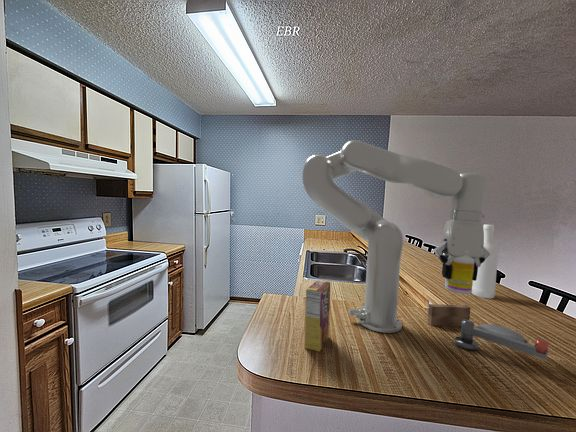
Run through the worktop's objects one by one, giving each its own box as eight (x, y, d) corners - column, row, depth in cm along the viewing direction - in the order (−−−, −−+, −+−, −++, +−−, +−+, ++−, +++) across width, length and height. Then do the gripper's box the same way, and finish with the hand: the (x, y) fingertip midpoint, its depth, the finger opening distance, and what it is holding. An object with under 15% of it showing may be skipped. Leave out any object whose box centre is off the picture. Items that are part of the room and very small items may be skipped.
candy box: (314, 333, 77) (317, 279, 77) (329, 336, 76) (332, 282, 75) (303, 348, 69) (305, 288, 68) (319, 352, 68) (322, 291, 67)
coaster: (496, 343, 75) (496, 341, 75) (468, 325, 86) (469, 323, 86) (535, 345, 76) (535, 342, 76) (503, 326, 87) (503, 324, 87)
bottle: (467, 292, 119) (472, 223, 117) (480, 291, 122) (486, 223, 120) (485, 299, 112) (491, 225, 110) (499, 298, 114) (505, 225, 112)
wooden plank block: (430, 325, 85) (432, 306, 85) (427, 322, 87) (428, 304, 87) (468, 326, 86) (470, 307, 85) (464, 323, 88) (466, 305, 87)
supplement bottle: (475, 296, 76) (480, 250, 75) (449, 293, 77) (454, 247, 77) (465, 288, 83) (469, 246, 82) (441, 285, 84) (445, 244, 83)
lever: (452, 344, 74) (454, 318, 73) (458, 338, 77) (459, 313, 77) (544, 377, 61) (547, 346, 60) (546, 368, 64) (549, 338, 64)
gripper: (485, 218, 83) (478, 276, 84) (428, 214, 82) (422, 273, 83) (505, 220, 75) (498, 284, 76) (443, 216, 75) (436, 280, 76)
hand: (458, 278), depth 80 cm, fingers closed on supplement bottle, 6 cm apart
